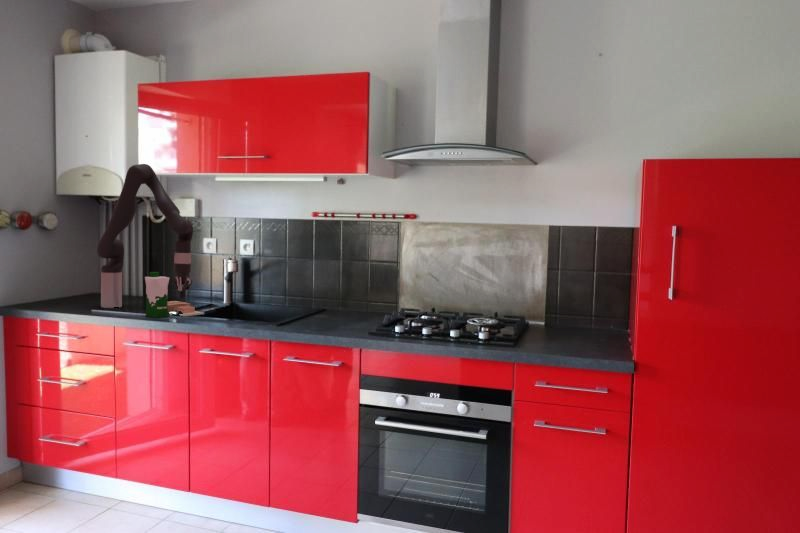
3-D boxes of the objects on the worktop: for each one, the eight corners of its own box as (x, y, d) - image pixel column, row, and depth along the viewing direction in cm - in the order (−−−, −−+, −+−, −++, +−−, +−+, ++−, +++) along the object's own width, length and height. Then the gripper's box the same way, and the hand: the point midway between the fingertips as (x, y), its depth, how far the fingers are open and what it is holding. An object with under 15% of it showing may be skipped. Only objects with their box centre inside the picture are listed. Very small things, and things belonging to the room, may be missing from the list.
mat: (168, 314, 309) (168, 312, 309) (190, 311, 318) (190, 310, 318) (181, 316, 302) (181, 314, 302) (204, 314, 312) (204, 312, 312)
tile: (173, 311, 310) (173, 306, 310) (184, 310, 315) (184, 305, 315) (183, 313, 306) (183, 308, 306) (194, 312, 311) (194, 307, 310)
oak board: (153, 311, 316) (153, 302, 316) (175, 308, 326) (175, 300, 325) (168, 313, 309) (168, 305, 308) (190, 311, 318) (190, 303, 318)
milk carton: (159, 314, 307) (159, 271, 305) (171, 316, 302) (171, 272, 300) (142, 316, 299) (142, 272, 298) (155, 318, 294) (155, 273, 293)
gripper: (167, 261, 312) (166, 297, 313) (184, 263, 304) (183, 301, 305) (181, 261, 318) (180, 296, 319) (197, 263, 310) (197, 299, 311)
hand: (182, 298), depth 312 cm, fingers closed
